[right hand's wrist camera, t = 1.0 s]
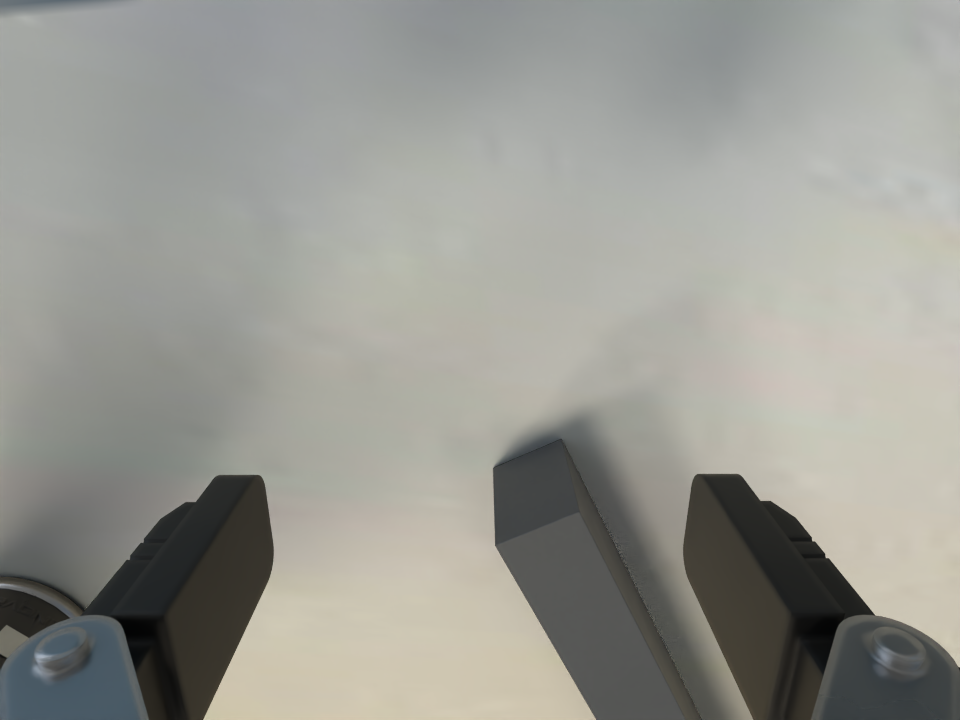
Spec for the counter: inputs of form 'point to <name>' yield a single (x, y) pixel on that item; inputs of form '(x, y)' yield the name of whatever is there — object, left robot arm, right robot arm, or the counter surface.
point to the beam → (583, 590)
